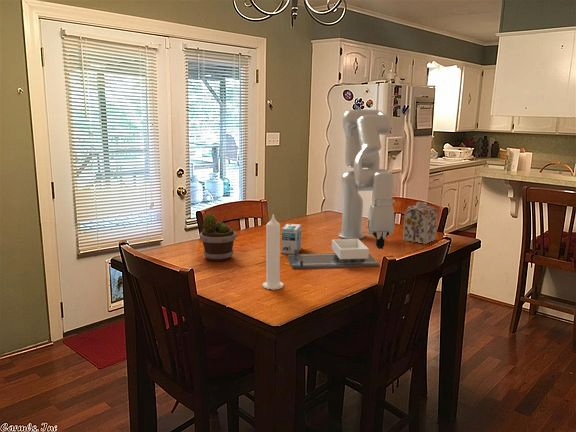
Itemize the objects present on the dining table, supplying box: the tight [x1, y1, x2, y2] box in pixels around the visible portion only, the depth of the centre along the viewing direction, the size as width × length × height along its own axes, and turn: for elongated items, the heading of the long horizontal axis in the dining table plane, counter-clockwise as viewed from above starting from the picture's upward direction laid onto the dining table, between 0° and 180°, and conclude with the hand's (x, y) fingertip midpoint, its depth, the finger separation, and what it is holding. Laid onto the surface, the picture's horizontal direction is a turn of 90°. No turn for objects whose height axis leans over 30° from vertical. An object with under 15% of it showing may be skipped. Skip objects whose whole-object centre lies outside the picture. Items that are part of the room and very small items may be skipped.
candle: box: [262, 213, 284, 291], centre depth 162 cm, size 7×7×25 cm
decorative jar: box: [402, 201, 438, 245], centre depth 225 cm, size 12×12×18 cm
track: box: [286, 250, 380, 270], centre depth 192 cm, size 16×34×3 cm, turn 97°
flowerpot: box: [199, 210, 238, 262], centre depth 194 cm, size 14×15×20 cm
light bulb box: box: [281, 223, 302, 255], centre depth 206 cm, size 11×7×11 cm, turn 168°
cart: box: [331, 238, 370, 263], centre depth 193 cm, size 15×11×6 cm
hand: (379, 247), depth 194 cm, fingers closed
